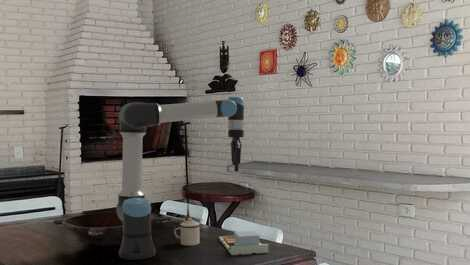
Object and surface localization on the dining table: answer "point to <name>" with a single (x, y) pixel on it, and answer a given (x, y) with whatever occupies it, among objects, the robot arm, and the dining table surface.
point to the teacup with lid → (189, 232)
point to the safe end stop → (249, 249)
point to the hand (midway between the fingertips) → (235, 178)
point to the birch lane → (226, 243)
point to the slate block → (246, 238)
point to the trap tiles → (230, 240)
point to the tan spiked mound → (188, 213)
